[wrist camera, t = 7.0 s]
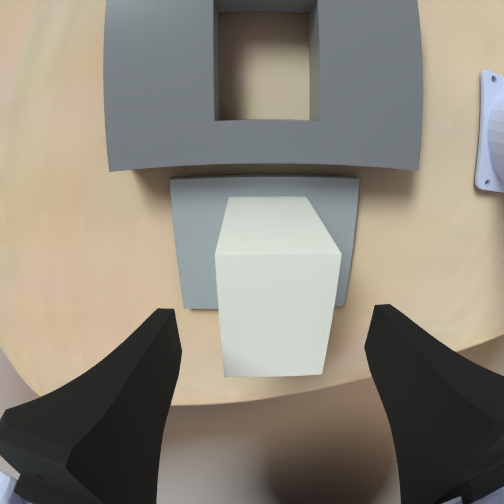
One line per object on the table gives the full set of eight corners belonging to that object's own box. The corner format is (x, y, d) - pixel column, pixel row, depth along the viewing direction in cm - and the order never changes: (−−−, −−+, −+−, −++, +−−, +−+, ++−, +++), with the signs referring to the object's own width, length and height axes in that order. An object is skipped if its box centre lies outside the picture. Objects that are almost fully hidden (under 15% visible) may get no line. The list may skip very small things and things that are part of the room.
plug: (306, 196, 16) (341, 254, 10) (300, 287, 18) (321, 374, 12) (228, 196, 16) (214, 254, 10) (232, 288, 18) (224, 376, 12)
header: (395, 0, 12) (415, -13, 9) (397, 162, 16) (418, 171, 14) (125, -3, 12) (107, -17, 9) (127, 163, 16) (109, 171, 14)
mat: (356, 176, 16) (359, 179, 16) (341, 300, 20) (344, 305, 19) (171, 177, 16) (169, 179, 16) (185, 303, 20) (184, 308, 19)
